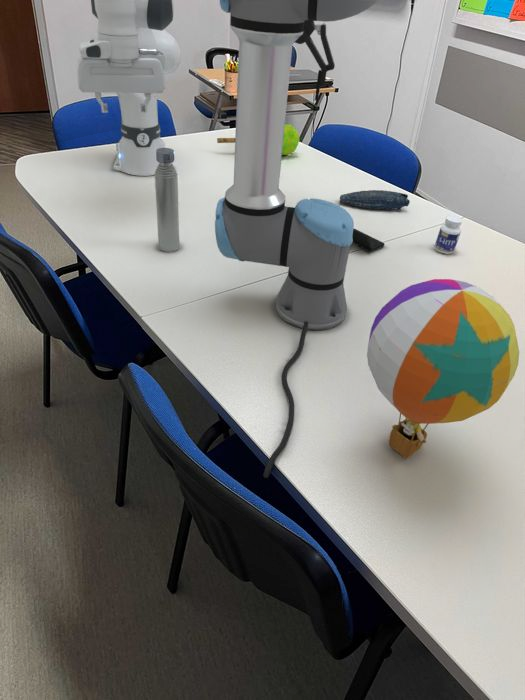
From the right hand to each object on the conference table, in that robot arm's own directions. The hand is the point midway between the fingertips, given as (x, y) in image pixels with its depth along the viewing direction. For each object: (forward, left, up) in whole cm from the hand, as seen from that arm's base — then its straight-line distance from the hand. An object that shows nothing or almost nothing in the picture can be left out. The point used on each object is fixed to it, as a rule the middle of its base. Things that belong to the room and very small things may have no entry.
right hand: (290, 96), depth 133 cm
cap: (-30, +24, -8) cm, 39 cm away
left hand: (-14, +39, -5) cm, 42 cm away
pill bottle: (-11, -47, -31) cm, 57 cm away
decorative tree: (+47, +14, -31) cm, 58 cm away
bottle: (-30, +24, -31) cm, 50 cm away
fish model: (+13, -28, -31) cm, 44 cm away
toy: (-85, -31, -31) cm, 96 cm away
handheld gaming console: (-14, -23, -31) cm, 41 cm away
